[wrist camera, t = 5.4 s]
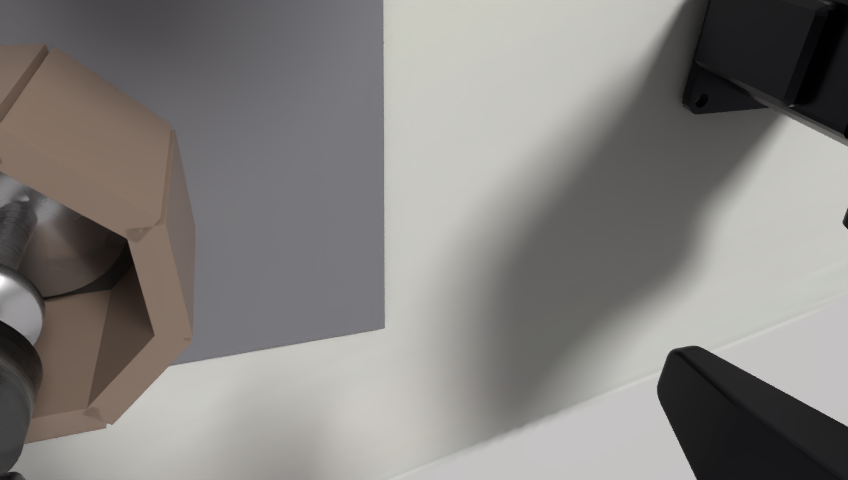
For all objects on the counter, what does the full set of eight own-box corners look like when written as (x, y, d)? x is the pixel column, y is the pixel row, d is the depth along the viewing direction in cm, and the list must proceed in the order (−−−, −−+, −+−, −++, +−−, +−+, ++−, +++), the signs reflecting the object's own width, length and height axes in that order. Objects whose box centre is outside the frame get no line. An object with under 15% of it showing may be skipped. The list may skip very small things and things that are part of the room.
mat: (379, -92, 16) (382, -90, 15) (382, 323, 23) (384, 328, 23) (-760, -100, 10) (-782, -98, 10) (-269, 434, 18) (-276, 442, 18)
